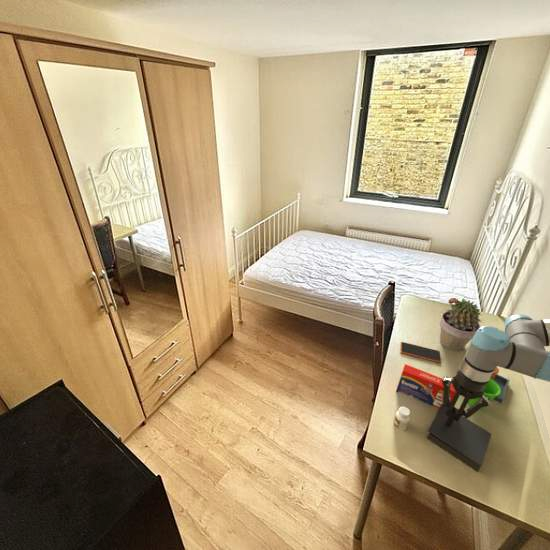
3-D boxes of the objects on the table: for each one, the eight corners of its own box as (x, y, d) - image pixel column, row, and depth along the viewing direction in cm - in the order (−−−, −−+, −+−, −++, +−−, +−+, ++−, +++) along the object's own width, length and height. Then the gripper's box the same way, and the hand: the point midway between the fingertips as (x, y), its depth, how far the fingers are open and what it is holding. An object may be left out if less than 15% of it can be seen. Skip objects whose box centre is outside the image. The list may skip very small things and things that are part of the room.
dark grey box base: (426, 439, 97) (428, 433, 95) (439, 413, 106) (442, 407, 104) (476, 473, 88) (480, 467, 87) (486, 441, 97) (490, 435, 95)
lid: (427, 430, 95) (428, 429, 95) (441, 404, 104) (442, 403, 104) (480, 467, 87) (481, 465, 86) (490, 435, 95) (491, 433, 95)
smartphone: (400, 342, 138) (400, 341, 137) (439, 352, 133) (439, 350, 132) (400, 353, 132) (400, 351, 131) (441, 363, 127) (441, 362, 126)
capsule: (492, 381, 118) (500, 367, 114) (489, 389, 115) (497, 375, 111) (478, 374, 121) (485, 360, 117) (474, 381, 118) (482, 367, 114)
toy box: (448, 406, 108) (458, 384, 103) (447, 414, 105) (457, 392, 100) (398, 384, 117) (404, 363, 111) (395, 391, 114) (402, 370, 108)
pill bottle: (391, 418, 103) (396, 404, 100) (403, 419, 103) (408, 405, 99) (395, 430, 100) (400, 416, 96) (408, 431, 99) (413, 417, 96)
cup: (494, 415, 105) (507, 395, 100) (469, 415, 105) (481, 395, 100) (479, 394, 113) (490, 374, 108) (456, 394, 113) (466, 374, 108)
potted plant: (486, 353, 133) (508, 308, 120) (449, 360, 129) (469, 314, 116) (456, 328, 148) (473, 286, 136) (423, 333, 144) (437, 291, 132)
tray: (507, 383, 118) (509, 380, 117) (501, 404, 110) (503, 400, 109) (468, 364, 126) (470, 361, 125) (459, 382, 118) (461, 378, 117)
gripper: (502, 378, 84) (473, 428, 95) (453, 355, 91) (432, 404, 103) (497, 394, 79) (467, 444, 91) (445, 368, 87) (424, 417, 98)
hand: (448, 423), depth 97 cm, fingers closed
